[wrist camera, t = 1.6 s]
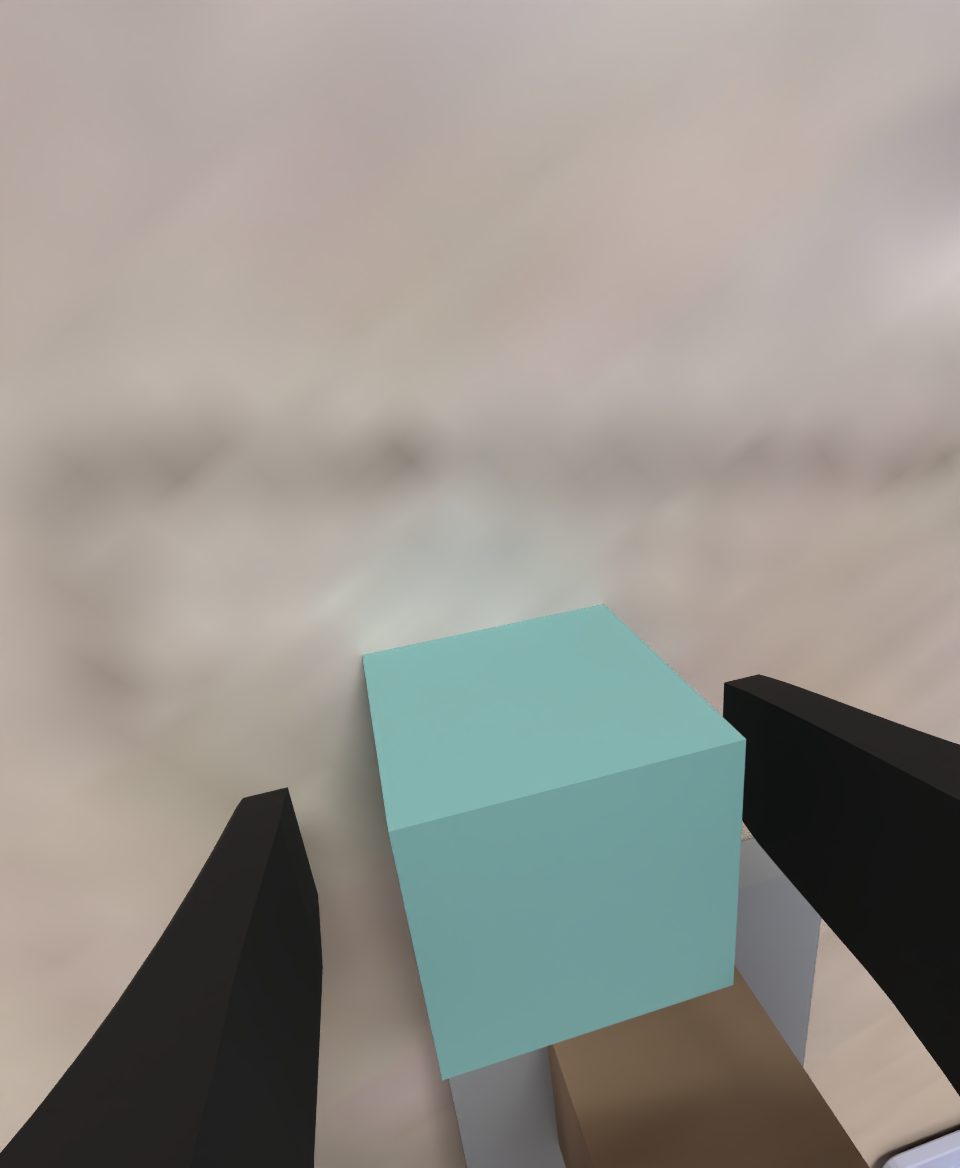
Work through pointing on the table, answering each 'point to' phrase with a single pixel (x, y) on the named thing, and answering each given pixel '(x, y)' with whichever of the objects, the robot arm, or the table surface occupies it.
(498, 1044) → the teal block
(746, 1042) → the walnut block
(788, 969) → the base plate
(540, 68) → the table surface
